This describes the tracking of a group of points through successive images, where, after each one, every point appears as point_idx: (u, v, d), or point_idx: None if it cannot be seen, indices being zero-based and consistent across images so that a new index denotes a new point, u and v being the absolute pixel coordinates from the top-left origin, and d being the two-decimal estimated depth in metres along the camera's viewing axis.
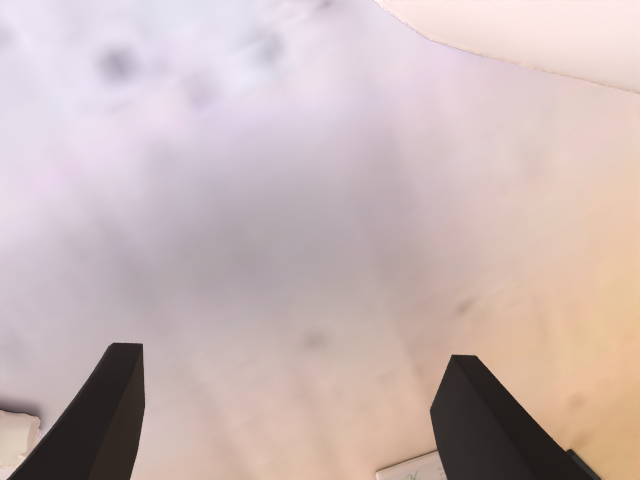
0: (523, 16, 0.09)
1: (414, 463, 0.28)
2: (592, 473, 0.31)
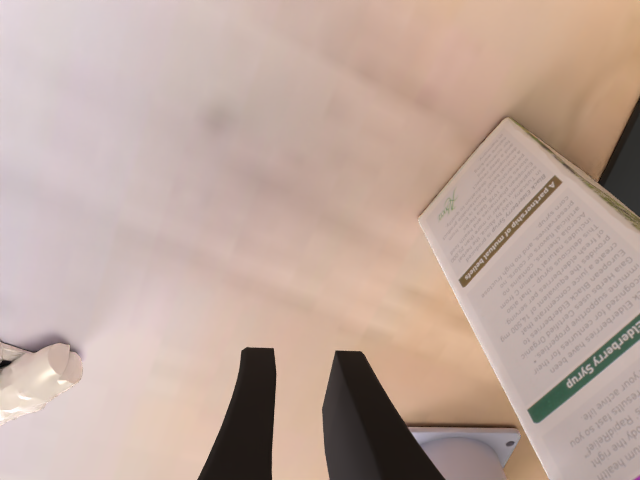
0: None
1: (451, 183, 0.22)
2: None
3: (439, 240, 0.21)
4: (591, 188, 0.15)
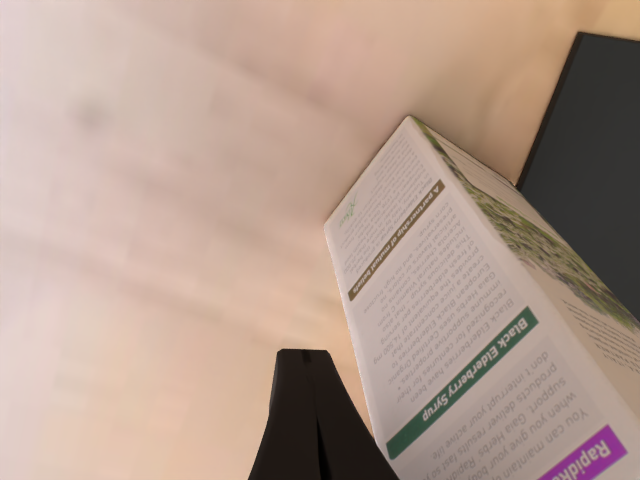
0: None
1: (354, 187, 0.20)
2: None
3: (337, 248, 0.19)
4: (469, 193, 0.14)
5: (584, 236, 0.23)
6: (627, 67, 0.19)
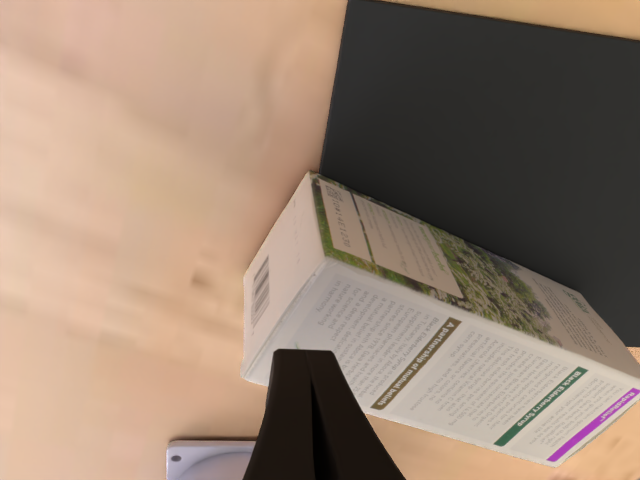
0: None
1: (279, 338, 0.16)
2: (418, 10, 0.17)
3: None
4: (493, 320, 0.17)
5: None
6: (408, 35, 0.17)
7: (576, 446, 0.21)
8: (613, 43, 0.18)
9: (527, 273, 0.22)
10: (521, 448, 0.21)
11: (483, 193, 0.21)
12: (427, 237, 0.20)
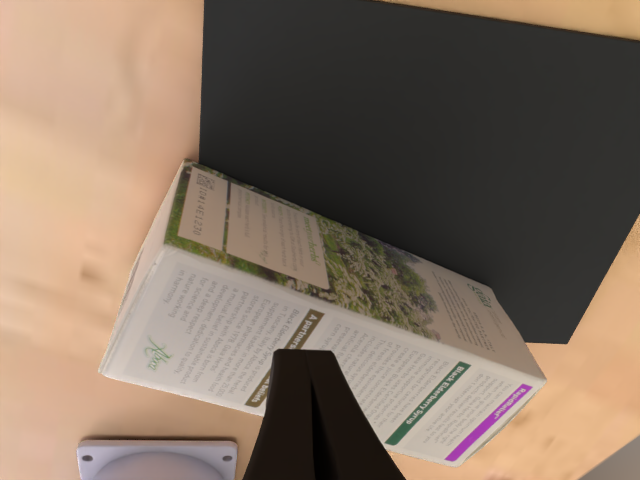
0: None
1: (130, 331, 0.16)
2: None
3: (176, 385, 0.17)
4: (359, 312, 0.16)
5: None
6: (272, 16, 0.16)
7: (474, 445, 0.20)
8: (493, 26, 0.17)
9: (427, 266, 0.22)
10: (415, 447, 0.20)
11: (375, 183, 0.20)
12: (310, 228, 0.19)
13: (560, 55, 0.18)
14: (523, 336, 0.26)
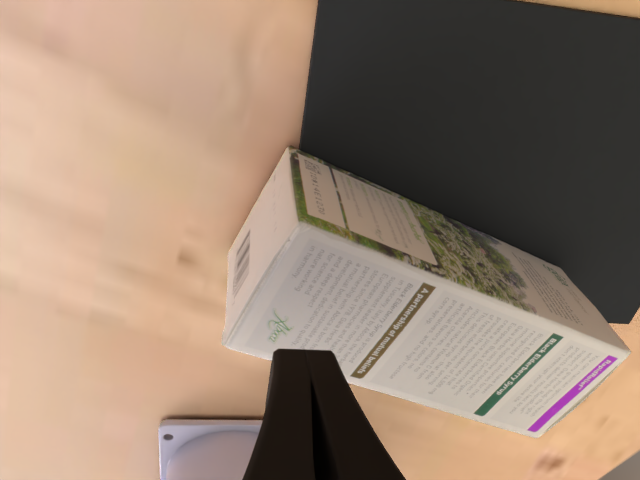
0: None
1: (258, 305, 0.17)
2: None
3: None
4: (467, 286, 0.17)
5: None
6: (381, 10, 0.18)
7: (556, 416, 0.22)
8: (584, 17, 0.18)
9: (507, 247, 0.23)
10: (501, 418, 0.21)
11: (461, 168, 0.21)
12: (405, 210, 0.20)
13: None
14: None
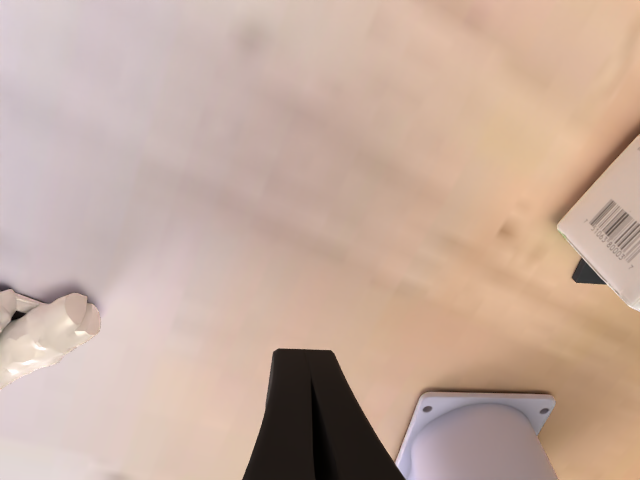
0: None
1: None
2: None
3: None
4: None
5: None
6: None
7: None
8: None
9: None
10: None
11: None
12: None
13: None
14: None
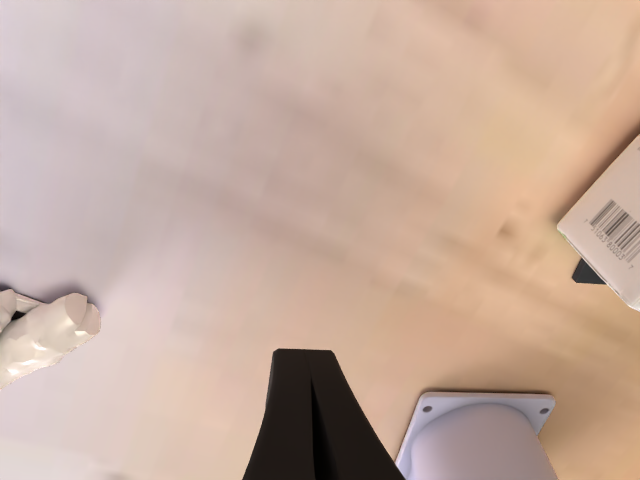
0: None
1: None
2: None
3: None
4: None
5: None
6: None
7: None
8: None
9: None
10: None
11: None
12: None
13: None
14: None
